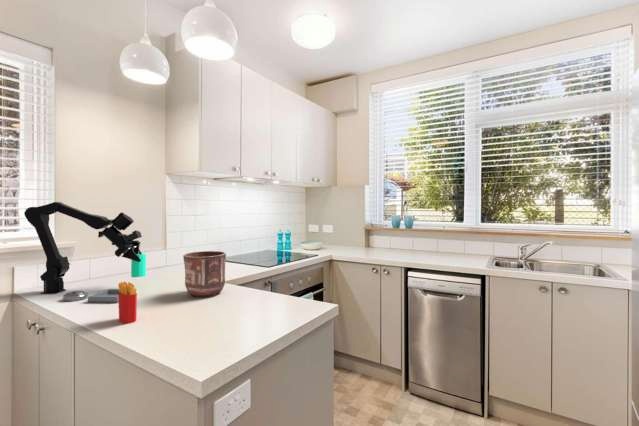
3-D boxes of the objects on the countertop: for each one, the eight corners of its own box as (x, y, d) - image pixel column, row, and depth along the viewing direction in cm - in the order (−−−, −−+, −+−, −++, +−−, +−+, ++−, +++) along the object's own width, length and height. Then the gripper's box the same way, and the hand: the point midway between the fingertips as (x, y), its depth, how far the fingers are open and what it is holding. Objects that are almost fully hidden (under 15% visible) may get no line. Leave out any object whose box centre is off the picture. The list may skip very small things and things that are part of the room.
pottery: (199, 287, 154) (198, 250, 153) (232, 289, 150) (232, 251, 150) (175, 298, 137) (174, 256, 136) (212, 300, 133) (212, 257, 132)
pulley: (58, 301, 130) (58, 294, 130) (73, 296, 138) (73, 289, 138) (77, 301, 130) (77, 294, 130) (91, 296, 138) (91, 289, 138)
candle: (148, 275, 153) (148, 250, 154) (136, 277, 148) (136, 251, 148) (140, 275, 156) (140, 250, 156) (128, 277, 150) (128, 251, 151)
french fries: (139, 321, 108) (138, 283, 108) (124, 325, 105) (124, 285, 105) (129, 315, 114) (129, 279, 114) (116, 318, 111) (115, 281, 111)
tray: (87, 302, 129) (87, 296, 129) (108, 294, 141) (107, 288, 141) (117, 303, 129) (117, 296, 129) (134, 294, 141) (134, 289, 141)
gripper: (122, 226, 142) (149, 250, 145) (136, 224, 160) (160, 245, 163) (102, 244, 140) (130, 268, 143) (118, 240, 158) (143, 261, 161)
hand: (142, 260), depth 153 cm, fingers closed on candle, 5 cm apart
